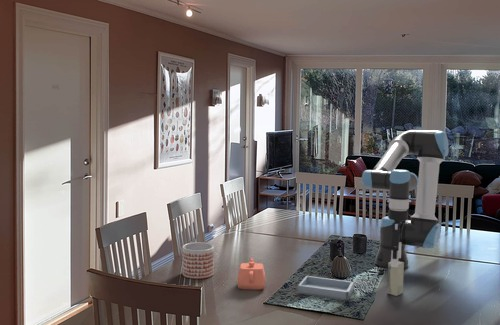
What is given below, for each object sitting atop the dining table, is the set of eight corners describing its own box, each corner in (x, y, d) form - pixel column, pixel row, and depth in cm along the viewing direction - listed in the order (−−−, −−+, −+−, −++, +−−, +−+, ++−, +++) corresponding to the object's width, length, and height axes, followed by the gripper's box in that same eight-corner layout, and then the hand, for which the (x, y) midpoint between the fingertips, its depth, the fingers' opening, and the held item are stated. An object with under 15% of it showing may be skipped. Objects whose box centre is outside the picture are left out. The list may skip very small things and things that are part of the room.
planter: (194, 281, 215) (194, 252, 214) (176, 273, 225) (176, 245, 224) (219, 275, 224) (220, 246, 223) (201, 267, 234) (201, 240, 233)
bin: (305, 283, 215) (306, 275, 214) (353, 289, 208) (354, 281, 207) (297, 293, 202) (297, 285, 202) (348, 300, 195) (348, 292, 195)
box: (393, 290, 207) (394, 259, 206) (403, 293, 204) (404, 262, 203) (386, 293, 203) (387, 262, 202) (396, 296, 200) (397, 264, 199)
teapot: (236, 293, 202) (236, 268, 201) (238, 278, 220) (239, 255, 218) (265, 294, 201) (265, 268, 200) (265, 279, 219) (265, 255, 218)
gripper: (391, 203, 213) (389, 253, 215) (385, 213, 190) (382, 269, 192) (410, 205, 211) (407, 255, 212) (406, 215, 187) (403, 271, 189)
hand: (395, 262), depth 202 cm, fingers open, 13 cm apart
